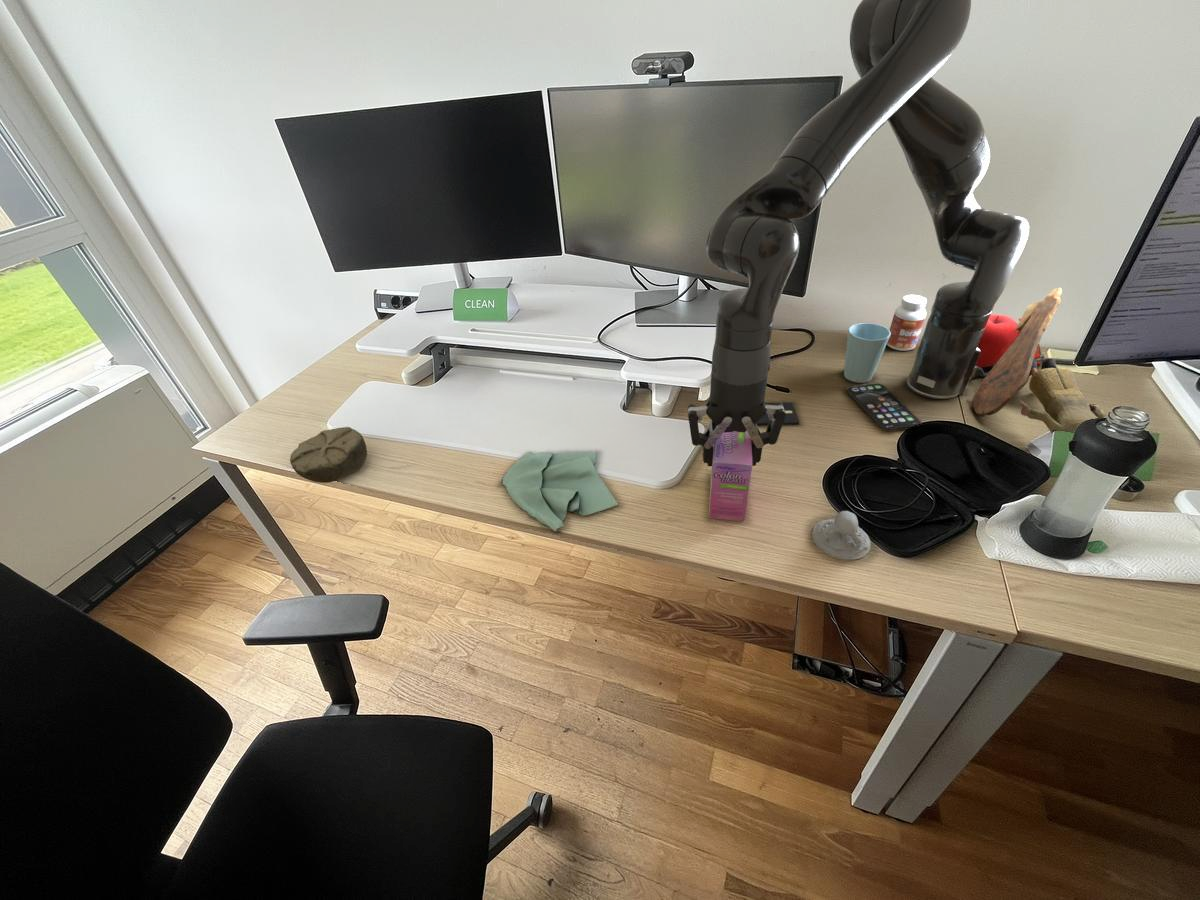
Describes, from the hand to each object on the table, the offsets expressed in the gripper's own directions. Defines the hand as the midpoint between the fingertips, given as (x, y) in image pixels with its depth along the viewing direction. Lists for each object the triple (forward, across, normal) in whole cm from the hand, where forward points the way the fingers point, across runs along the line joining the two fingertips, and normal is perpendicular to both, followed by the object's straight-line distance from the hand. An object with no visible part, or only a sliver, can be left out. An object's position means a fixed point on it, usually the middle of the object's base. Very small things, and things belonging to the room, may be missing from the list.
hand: (730, 462), depth 82 cm
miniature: (+8, -16, +9) cm, 20 cm away
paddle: (+6, -48, -21) cm, 52 cm away
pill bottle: (+8, -44, -50) cm, 67 cm away
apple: (+8, -56, -41) cm, 70 cm away
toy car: (+2, -66, -40) cm, 77 cm away
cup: (+8, -31, -37) cm, 49 cm away
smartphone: (+8, -32, -25) cm, 41 cm away
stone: (+1, +73, -7) cm, 73 cm away
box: (+8, 0, 0) cm, 8 cm away
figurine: (+3, -60, -29) cm, 67 cm away
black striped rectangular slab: (+8, -10, -24) cm, 27 cm away
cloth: (+8, +28, -2) cm, 30 cm away
